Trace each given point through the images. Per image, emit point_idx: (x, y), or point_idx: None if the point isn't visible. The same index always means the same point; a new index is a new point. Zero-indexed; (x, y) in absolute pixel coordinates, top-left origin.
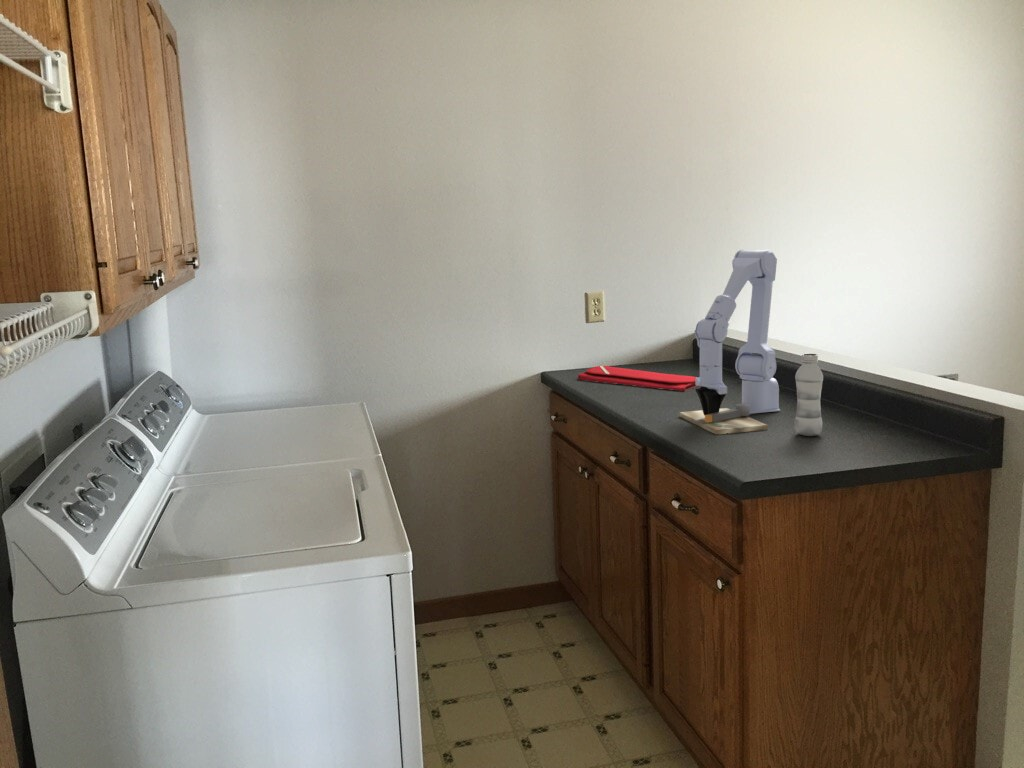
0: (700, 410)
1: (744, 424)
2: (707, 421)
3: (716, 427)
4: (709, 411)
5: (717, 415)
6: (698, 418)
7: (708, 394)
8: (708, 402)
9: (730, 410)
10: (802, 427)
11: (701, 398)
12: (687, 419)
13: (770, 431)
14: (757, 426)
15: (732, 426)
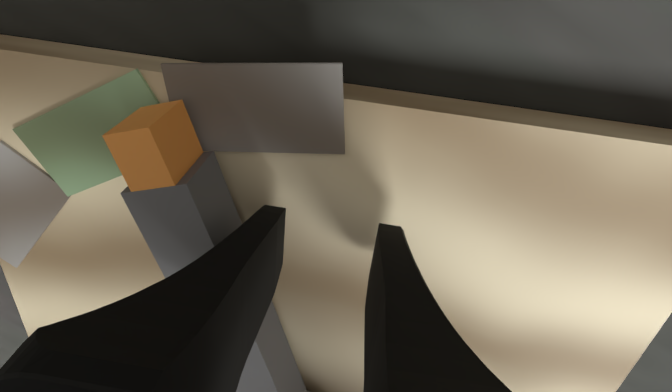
0: (652, 331)
1: (78, 300)
2: (145, 110)
3: (12, 94)
4: (233, 231)
5: (150, 234)
6: (401, 158)
7: (10, 362)
8: (166, 285)
9: (251, 381)
10: None
11: (386, 334)
12: (555, 116)
13: (19, 339)
14: (28, 326)
15: (14, 207)
